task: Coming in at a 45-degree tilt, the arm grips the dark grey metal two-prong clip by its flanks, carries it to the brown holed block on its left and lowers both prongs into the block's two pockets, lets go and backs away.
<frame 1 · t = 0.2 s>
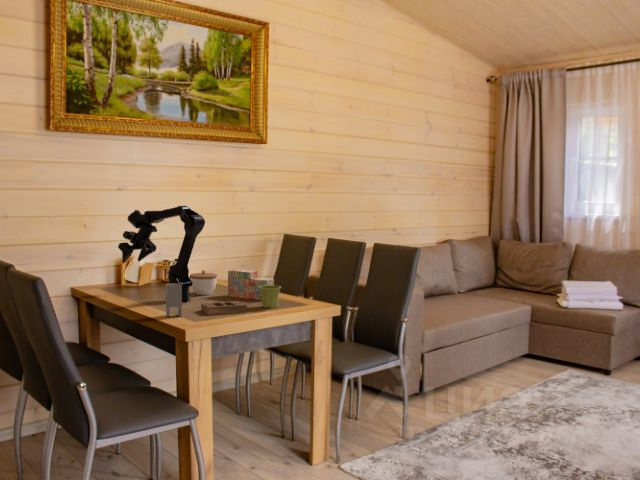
hand: (130, 261, 297), 15 cm above the table, tool tilted 35°, fingers open, 9 cm apart
lidded bowl: (203, 294, 302), on the table
stack of blocks: (250, 298, 294), on the table
clip: (173, 316, 250), on the table
brown holed block: (223, 311, 260), on the table
plant pot: (269, 307, 272), on the table
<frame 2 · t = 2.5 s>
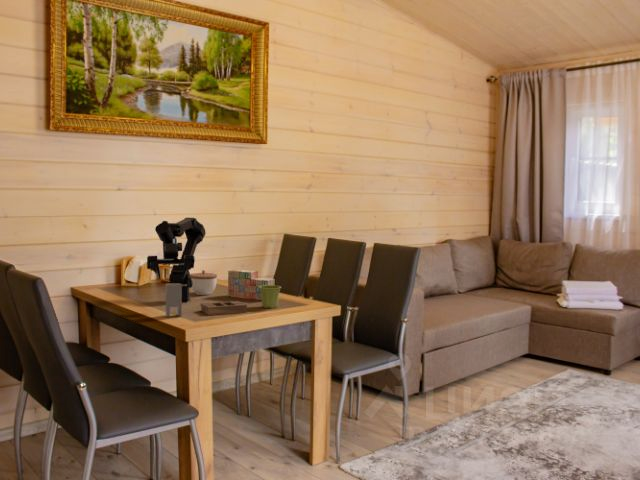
hand: (171, 278, 256), 14 cm above the table, tool tilted 45°, fingers open, 9 cm apart
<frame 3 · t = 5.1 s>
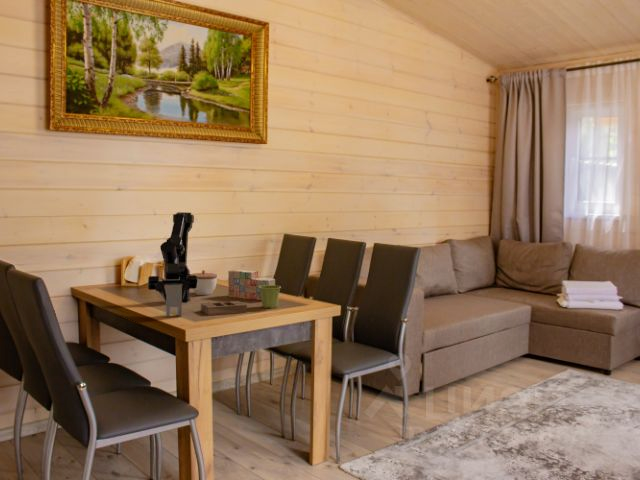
hand: (173, 299, 248), 7 cm above the table, tool tilted 45°, fingers closed on clip, 6 cm apart
clip: (173, 316, 250), on the table, touching gripper
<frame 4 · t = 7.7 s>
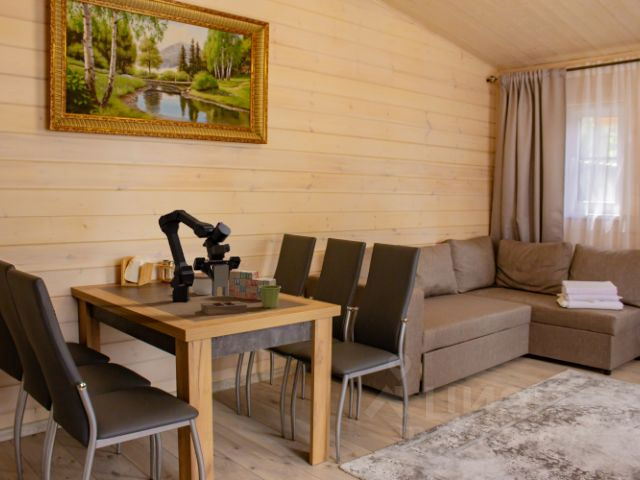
hand: (220, 280, 257), 13 cm above the table, tool tilted 45°, fingers closed on clip, 6 cm apart
clip: (219, 295, 258), point 7 cm above the table, touching gripper
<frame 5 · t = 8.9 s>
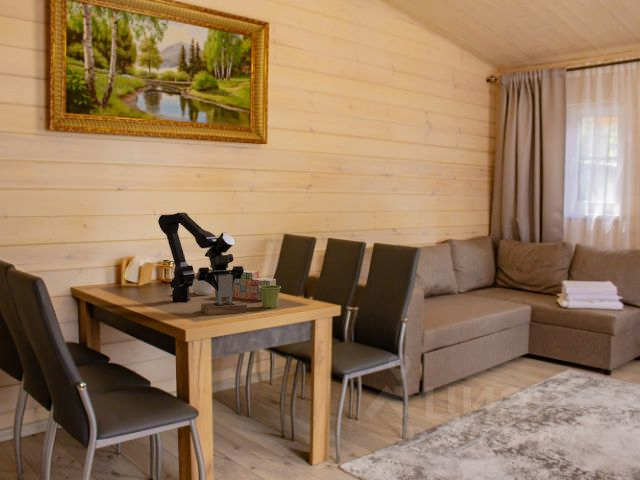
hand: (224, 289, 259), 9 cm above the table, tool tilted 45°, fingers closed on clip, 6 cm apart
clip: (223, 305, 260), point 2 cm above the table, touching gripper
when the fingers open (8 cm above the table, at t = 10.0 s): clip drops 1 cm, resting in brown holed block.
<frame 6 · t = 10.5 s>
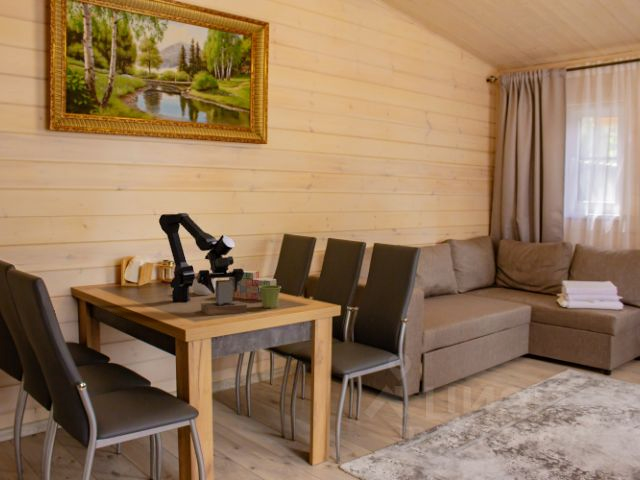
hand: (225, 292, 259), 8 cm above the table, tool tilted 45°, fingers open, 9 cm apart
clip: (223, 311, 260), resting in brown holed block
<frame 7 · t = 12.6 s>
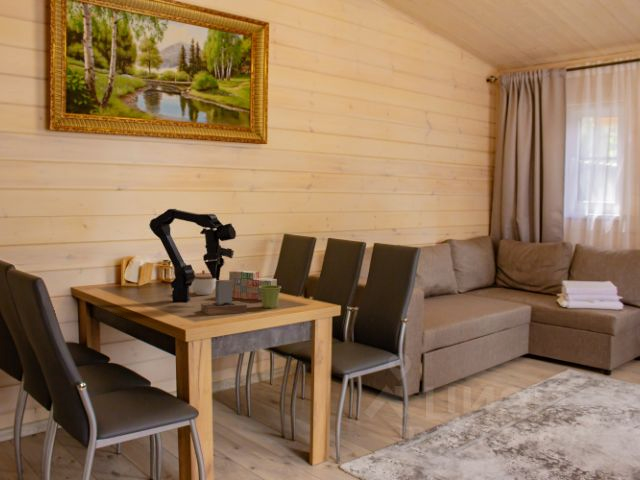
hand: (216, 279, 272), 11 cm above the table, tool tilted 15°, fingers open, 9 cm apart
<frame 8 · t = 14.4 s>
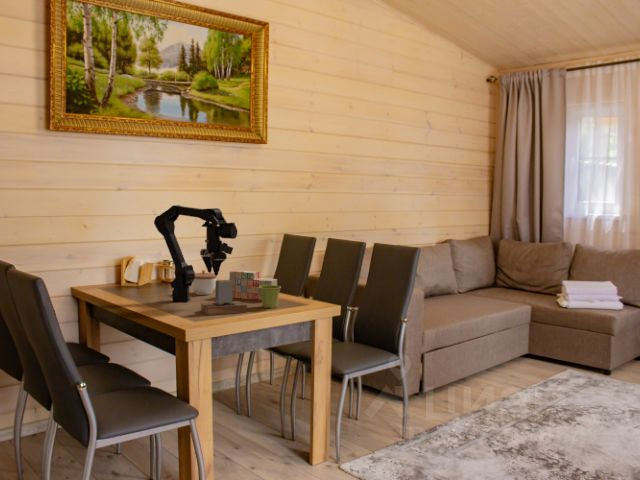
hand: (212, 274, 275), 13 cm above the table, tool pointing down, fingers open, 9 cm apart
at the end: clip 0.1 cm off-centre on the brown holed block, point 0.0 cm above the brown holed block's base; clip tilted 0°; the gripper is holding nothing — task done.
